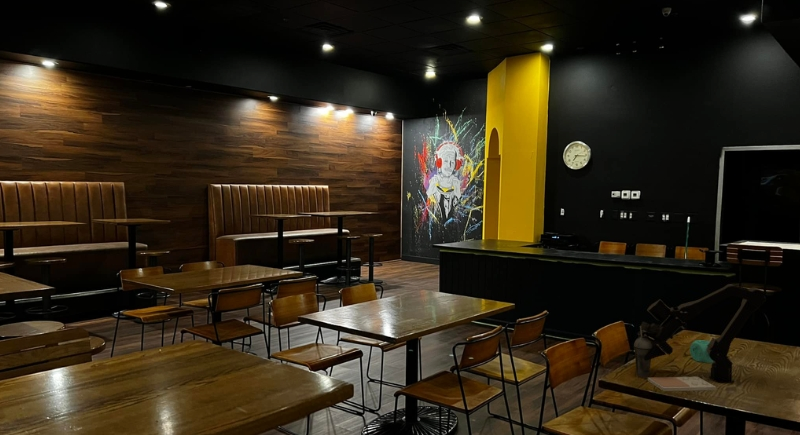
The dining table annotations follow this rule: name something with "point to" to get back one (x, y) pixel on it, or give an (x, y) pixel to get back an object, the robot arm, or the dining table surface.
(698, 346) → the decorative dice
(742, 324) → the robot arm
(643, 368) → the beverage cup
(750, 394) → the dining table surface
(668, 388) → the baseplate
